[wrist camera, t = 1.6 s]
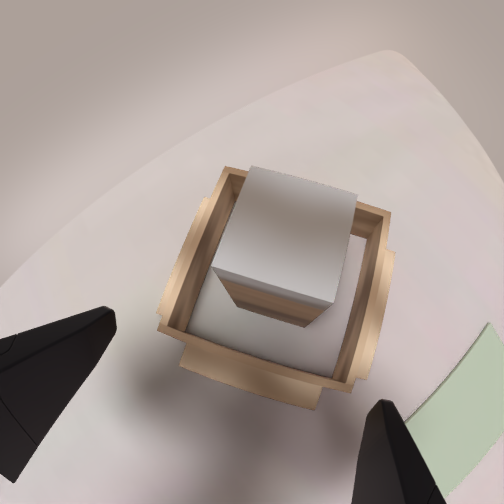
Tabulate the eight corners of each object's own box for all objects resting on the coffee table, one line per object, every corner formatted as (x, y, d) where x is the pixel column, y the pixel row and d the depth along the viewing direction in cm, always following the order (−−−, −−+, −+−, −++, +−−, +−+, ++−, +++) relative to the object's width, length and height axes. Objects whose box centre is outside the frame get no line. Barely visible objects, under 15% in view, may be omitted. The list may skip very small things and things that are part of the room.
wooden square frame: (352, 418, 18) (370, 430, 14) (144, 350, 20) (119, 347, 17) (398, 221, 23) (417, 197, 19) (218, 170, 25) (210, 140, 21)
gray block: (304, 327, 20) (333, 303, 11) (237, 306, 21) (211, 265, 12) (322, 263, 22) (357, 194, 13) (258, 244, 23) (251, 165, 13)
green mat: (430, 507, 14) (432, 509, 13) (377, 445, 17) (379, 447, 16) (525, 393, 16) (528, 393, 16) (487, 323, 19) (490, 322, 19)
